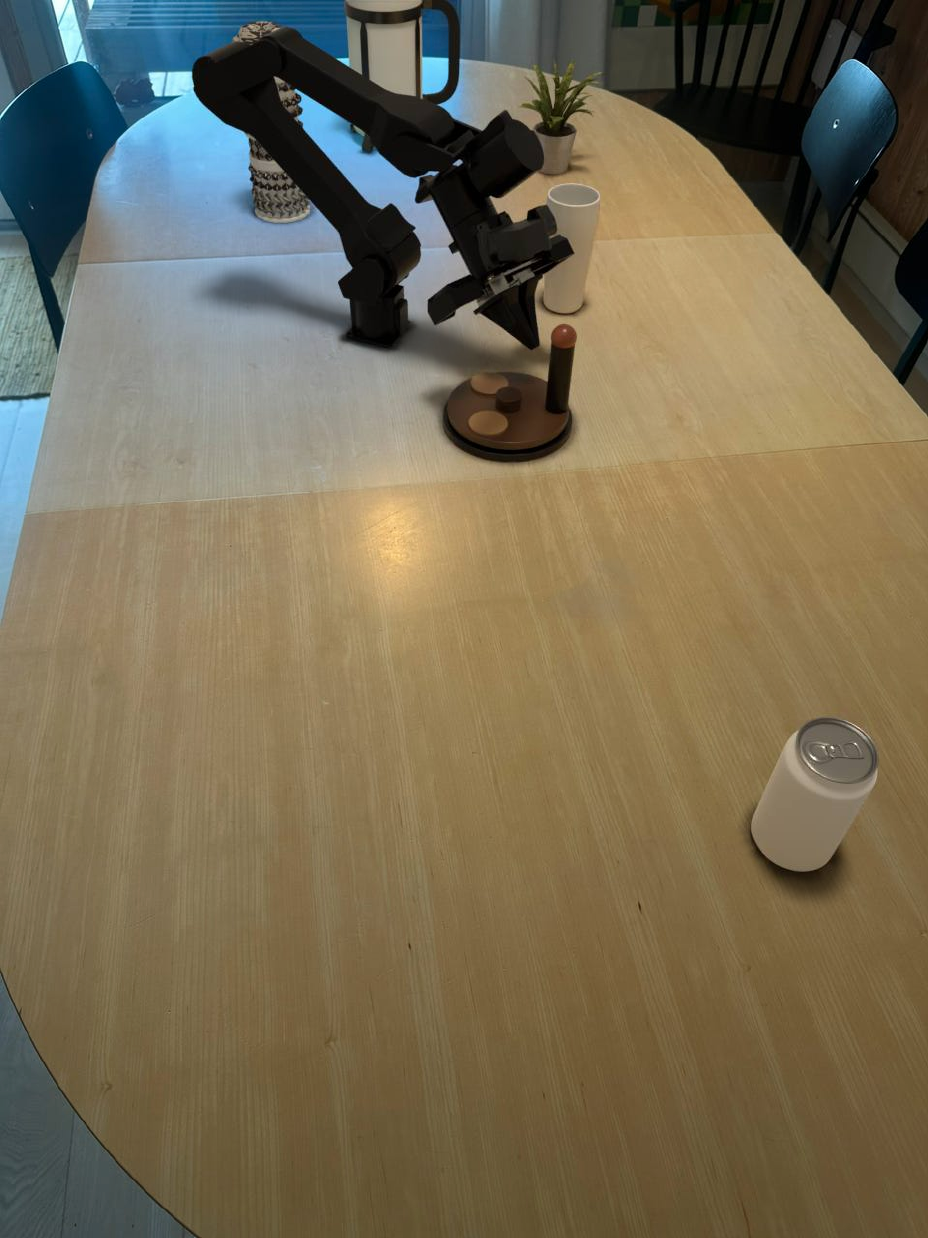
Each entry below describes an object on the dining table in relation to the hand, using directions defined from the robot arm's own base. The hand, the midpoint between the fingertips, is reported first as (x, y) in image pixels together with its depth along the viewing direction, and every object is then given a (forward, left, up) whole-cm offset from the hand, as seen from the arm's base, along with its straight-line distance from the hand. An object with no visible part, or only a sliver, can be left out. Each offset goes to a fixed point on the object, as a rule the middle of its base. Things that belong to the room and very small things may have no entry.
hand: (535, 348), depth 111 cm
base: (-1, -5, -7) cm, 9 cm away
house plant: (-17, +64, -7) cm, 66 cm away
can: (+38, -48, -7) cm, 62 cm away
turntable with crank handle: (-1, -5, -6) cm, 8 cm away
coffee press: (-47, +66, -7) cm, 81 cm away
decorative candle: (-51, +33, -7) cm, 61 cm away
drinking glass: (-3, +23, -7) cm, 24 cm away
